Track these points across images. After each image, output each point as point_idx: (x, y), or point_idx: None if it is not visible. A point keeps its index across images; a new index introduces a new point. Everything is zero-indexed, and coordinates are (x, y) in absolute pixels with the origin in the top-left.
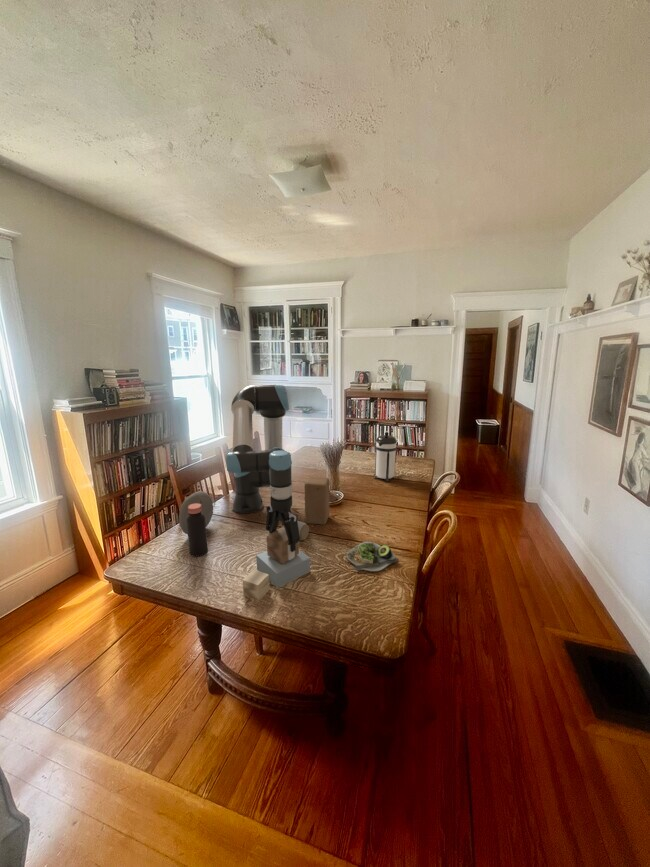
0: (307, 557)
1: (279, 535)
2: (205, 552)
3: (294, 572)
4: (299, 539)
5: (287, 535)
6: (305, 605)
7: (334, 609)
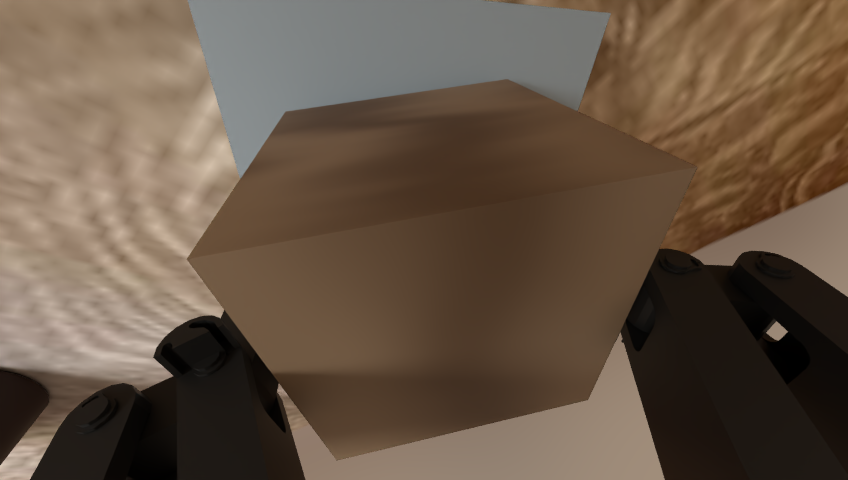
0: (587, 31)
1: (448, 384)
2: (19, 383)
3: None
4: (809, 284)
5: (659, 421)
6: None
7: (762, 132)
